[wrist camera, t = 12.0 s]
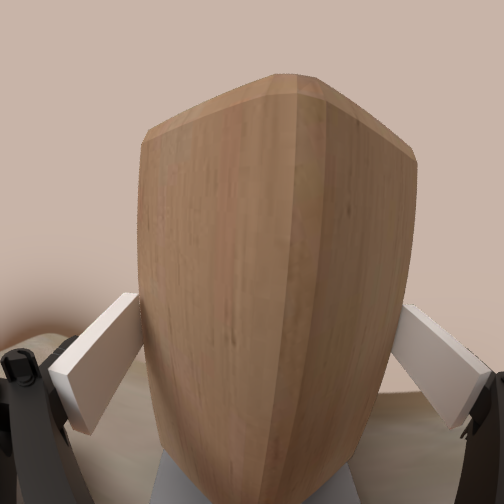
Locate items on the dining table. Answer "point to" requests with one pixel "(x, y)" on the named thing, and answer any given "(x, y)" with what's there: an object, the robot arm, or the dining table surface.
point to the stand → (193, 500)
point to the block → (270, 282)
